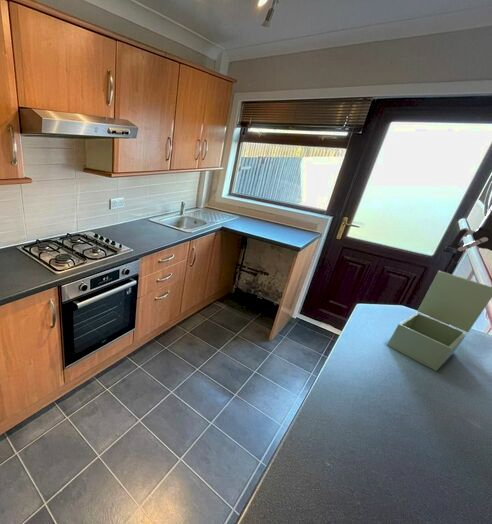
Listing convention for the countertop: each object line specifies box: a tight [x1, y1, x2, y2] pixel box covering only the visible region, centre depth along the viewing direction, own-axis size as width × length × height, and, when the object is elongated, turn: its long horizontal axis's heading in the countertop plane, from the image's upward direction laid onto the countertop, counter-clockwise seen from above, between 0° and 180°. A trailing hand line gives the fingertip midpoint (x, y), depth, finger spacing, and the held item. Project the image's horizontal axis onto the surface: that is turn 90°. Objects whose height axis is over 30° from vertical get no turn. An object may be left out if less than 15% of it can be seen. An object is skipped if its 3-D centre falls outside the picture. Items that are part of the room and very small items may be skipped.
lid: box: [417, 270, 492, 333], centre depth 89 cm, size 16×13×6 cm
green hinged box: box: [386, 311, 468, 372], centre depth 91 cm, size 16×13×9 cm
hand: (475, 267), depth 83 cm, fingers open, 8 cm apart
